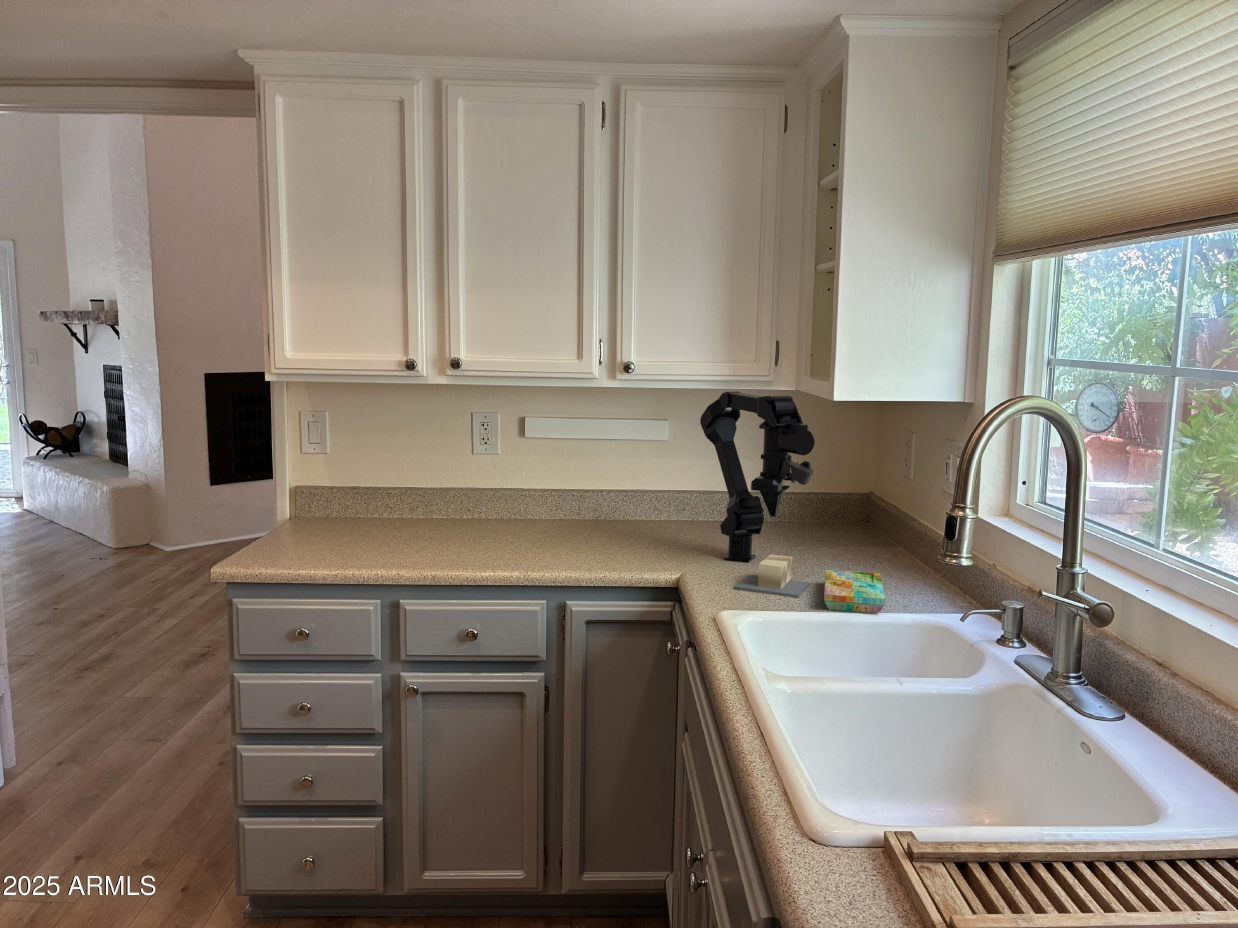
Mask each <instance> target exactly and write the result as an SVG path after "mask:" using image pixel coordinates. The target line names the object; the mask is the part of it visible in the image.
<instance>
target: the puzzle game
mask: <svg viewBox="0 0 1238 928" xmlns="http://www.w3.org/2000/svg"><path fill="white" fill-rule="evenodd" d="M824 572H825V573H824V576H825V577H824V593H823V594H824V595H823V601H824V603H825V605H826V607H827V608H828V610H830V611H838V612H847V613H848V612H849V613H850V612H851V613H860V612H866V613H865V614H873V613H877V614H878V613H879V612H880V611H881V610H882V609H883V608H884V606H885V602H886V598H885V593H884V587H883V582H882V576H881V573H878V572H865V571H849V570H835V569H832V570H831V569H825V571H824Z"/></svg>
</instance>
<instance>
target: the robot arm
mask: <svg viewBox="0 0 1238 928" xmlns="http://www.w3.org/2000/svg"><path fill="white" fill-rule="evenodd" d="M793 399H794V398H793V397H792V396H791V395H788V394H787V395H765V396H764V395H763V396H761V395H756V394H750V393H749V394H748V393H745V392H740V391H738V390H737V391H736V390H735V391H725V392H722V393H721V394H720V396H719V397H718V399H716V400H715V401H713V402H711V403H710V404H709V405H708V406H707V407H706V408H705V410H704V411H703V413H702V414H701V416H700V420H699V422H700V423H699V424H700V426H701V428H702V431H703V433H704V436H705V438H706V439H708V440H709V441H710V442H711V443H712V445H714V448H715V451H716V455H717V459H718V463H719V466H720V469H721V472H722V476H723V479H724V484H725V487H726V490H727V493H728V494H727V495H728V498H729V499H728V503H727V506H726V515H727V516H726V517H725V518H724V519H723V520H722V522H721V523H720V525H719V527H720V532H721V534H723V535H725V536H727V537H728V548H727V549H728V551H727V552H728V553H727V554H726V555H724V556H723V559H724V560H727V561H736V562H745V563H749V562H751V561H753V560H754V559H755V558H756V556H757V555H756V554H754V553H753V554H752V551H753V535H760V534H761V533H762V532H761V531H762V530H763V529H762V527H763V524H764V522H765V514H764V512H765V510H764V508H763V505H762V502H761V497H762V499H763V501H764V503H765V506H766V508H767V510H768V511H767V512H768V515H769V516H770V517H773V518H775V517H776V516H777V514H778V509H779V507H780V503H781V501H782V500H781V499H782V497H783V494H784V493H785V492H786V491H787V490H789V489H790V488H791V485H785V481H790V482H791V483H794V484H795V483H798V484H799V485H803V486H806V485H807V484H808V483H810V480H811V478H812V476H813V474H814V469H813V468H812V464H811V462H810V461H808V460H803V461H802V462H801V463H800V462H795V461H793V460H792V459H793V458H792V455H791V454H793V455H794V454H795V455H799V456H807V455H809V454H810V453H811V452H813V451H812V450H813V449H814V446H815V443H816V442H815V441H816V440H815V439H814V435H813V433H812V432H811V431H810V430H809V428H808V427H809V426H808V424H804V423H803V420H802V416H801V415H800V413H799V410H798V408H797V405H796V403H795V401H794V400H793ZM741 411H746V412H749V413H754V414H756V416H757V417H758V418H759V419H762V420H764V421H762V422H761V423H760V424H759V426H758V428H759V429H761V430H763V447H762V448H763V451H762V453H761V454H760V460H762V471H760V473H759V476H757V477H754V479H752V480H751V481H750V491H755V492H756V491H757V492H759V493H760V495H761V497H759V495H752V493H750V491H749V488H748V484H747V481H746V477H745V474H744V471H743V466H742V464H741V461H740V457H739V452H738V451H737V446H736V443H735V436H736V433H737V427H738V426H737V422H738V421H739V419H740V418H741Z"/></svg>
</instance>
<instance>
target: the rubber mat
mask: <svg viewBox="0 0 1238 928" xmlns="http://www.w3.org/2000/svg"><path fill="white" fill-rule="evenodd" d="M810 585H811V582H808V581H801V580H795V579H794V580H792V579H790V580H789V581H788V582H787V583H786V584H785V585H784V586H783V587H782V588H781V589H774V588H766V587H759V586H758V575H753V574H748V575H747V576H746V577H744V578H743V579H742V580H741V581H739V582H738V583H737V584H735V586H734V590H739V591H745V592H751V593H752V592H754V593H759V594H760V593H761V594H767V595H776V596H783V597H790V598H798V599H799V597H800V596H801V595H802V594H803V593H804V592H805V591H806V590H807V589H808V587H810Z"/></svg>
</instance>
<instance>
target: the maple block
mask: <svg viewBox="0 0 1238 928" xmlns="http://www.w3.org/2000/svg"><path fill="white" fill-rule="evenodd" d="M793 559H794V558H793V556H790V555H789V556H788V555H781V554H780V555H779V554H772V553H771V554H769V555H768V556H766V557H765V558H764V559H763V560H762V561H761V562H759V563H758V571H757V573H758V575H757V576H758V586H759V587H766V588H774V589H781V588H782V587H783V586H784V585H785V584H786V583H787V582H788V581H789V580H792V577H793Z"/></svg>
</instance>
